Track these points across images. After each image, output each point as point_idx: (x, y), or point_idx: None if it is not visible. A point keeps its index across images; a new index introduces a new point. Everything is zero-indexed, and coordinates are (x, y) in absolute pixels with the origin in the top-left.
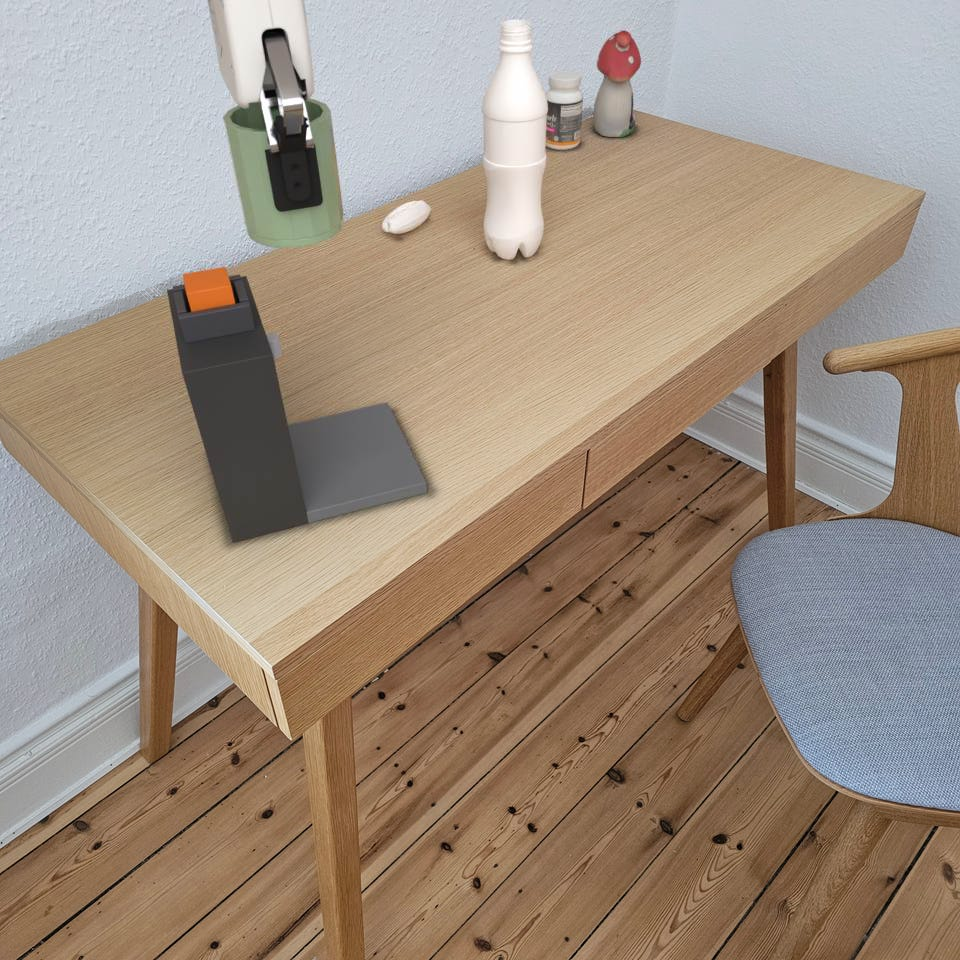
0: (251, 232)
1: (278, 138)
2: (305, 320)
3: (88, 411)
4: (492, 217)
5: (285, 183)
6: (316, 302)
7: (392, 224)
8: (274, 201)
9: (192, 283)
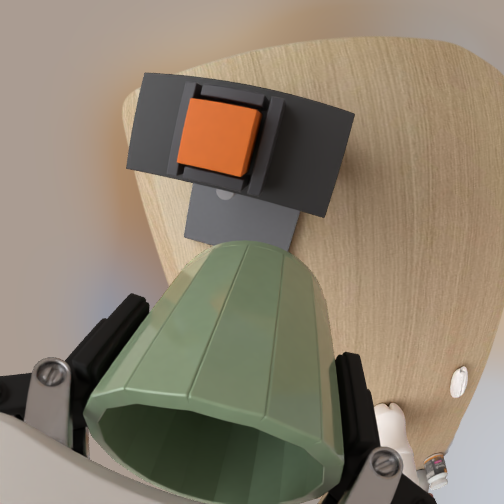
0: (236, 245)
1: (29, 385)
2: (433, 273)
3: (430, 78)
4: (393, 422)
5: (90, 333)
6: (444, 291)
7: (459, 373)
8: (128, 300)
9: (214, 113)
